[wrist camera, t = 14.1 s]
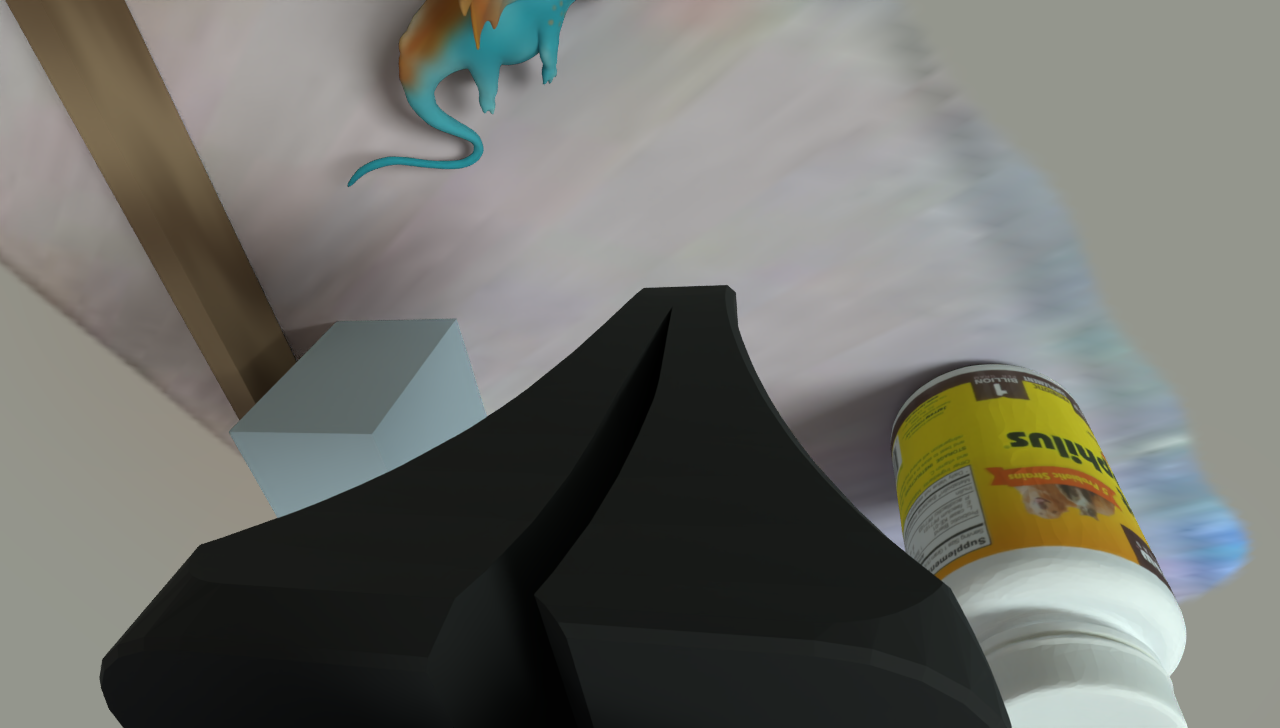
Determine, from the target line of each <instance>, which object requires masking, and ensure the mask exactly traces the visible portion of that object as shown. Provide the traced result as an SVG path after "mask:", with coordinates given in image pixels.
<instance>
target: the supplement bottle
mask: <svg viewBox="0 0 1280 728" xmlns="http://www.w3.org/2000/svg"><path fill="white" fill-rule="evenodd" d="M891 454H892V462H893V469H894V476H895V483H896V491H897V497H898V504H899V511H900V518H901V526H902V533H903V539H904V545H905V552H906V553H907V554H908V555H909V556H911V557H912V558H913V559H915V560H916V561H917V562H918V563H920V564H921V565H922V566H923V567H925V568H926V569H927V570H929V571H930V572H931V573H932V574H934V575H935V576H936V577H937V578H939V579H940V580H941V581H943V582H944V583H945V584H946V585H947V586H949V587H950V588H951V590H952V592H953V594H954V595H955V597H956V599H957V601H958V603H959V605H960V606H961V608H962V610H963V612H964V614H965V616H966V618H967V620H968V622H969V624H970V626H971V628H972V630H973V632H974V633H975V636H976V638H977V640H978V642H979V644H980V646H981V648H982V651H983V653H984V655H985V657H986V659H987V661H988V664H989V666H990V668H991V671H992V673H993V676H994V678H995V681H996V683H997V686H998V688H999V691H1000V694H1001V696H1002V699H1003V702H1004V705H1005V707H1006V710H1007V713H1008V716H1009V718H1010V722H1011V725H1012V728H1188V726H1187V724H1186V721H1185V719H1184V717H1183V714H1182V712H1181V710H1180V707H1179V705H1178V702H1177V700H1176V698H1175V695H1174V692H1173V685H1172V681H1171V679H1170V675H1171V674H1172V673H1173V671H1174V670H1175V669H1176V667H1177V666H1178V664H1179V662H1180V660H1181V657H1182V655H1183V652H1184V648H1185V643H1186V627H1185V622H1184V618H1183V615H1182V613H1181V610H1180V608H1179V606H1178V604H1177V601H1176V599H1175V597H1174V594H1173V592H1172V590H1171V588H1170V586H1169V584H1168V582H1167V581H1166V579H1165V577H1164V575H1163V573H1162V571H1161V569H1160V567H1159V565H1158V562H1157V560H1156V558H1155V556H1154V554H1153V553H1152V551H1151V549H1150V547H1149V545H1148V543H1147V541H1146V539H1145V537H1144V535H1143V533H1142V531H1141V529H1140V527H1139V525H1138V523H1137V521H1136V519H1135V517H1134V515H1133V512H1132V511H1131V509H1130V507H1129V504H1128V502H1127V500H1126V498H1125V497H1124V495H1123V493H1122V491H1121V489H1120V487H1119V485H1118V482H1117V480H1116V478H1115V476H1114V474H1113V472H1112V470H1111V469H1110V467H1109V465H1108V463H1107V461H1106V459H1105V457H1104V455H1103V453H1102V451H1101V449H1100V447H1099V445H1098V443H1097V441H1096V439H1095V437H1094V434H1093V432H1092V430H1091V428H1090V427H1089V425H1088V423H1087V421H1086V419H1085V417H1084V415H1083V413H1082V412H1081V409H1080V408H1079V406H1078V405H1077V403H1076V402H1075V400H1074V399H1073V397H1072V396H1071V395H1070V394H1069V393H1068V392H1067V391H1066V390H1065V389H1064V388H1063V387H1062V386H1061V385H1059V384H1058V383H1057V382H1055V381H1053V380H1052V379H1050V378H1048V377H1047V376H1045V375H1042V374H1040V373H1038V372H1035V371H1033V370H1030V369H1026V368H1023V367H1018V366H1011V365H1002V364H985V365H975V366H969V367H964V368H960V369H957V370H954V371H951V372H948V373H945V374H943V375H941V376H939V377H937V378H935V379H933V380H931V381H930V382H928V383H927V384H925V385H923V386H922V387H921V388H919V389H918V390H917V391H916V392H915V393H914V394H913V395H912V396H911V397H910V398H909V399H908V400H907V401H906V402H905V403H904V405H903V406H902V408H901V409H900V411H899V413H898V415H897V417H896V419H895V422H894V424H893V428H892V433H891Z"/></svg>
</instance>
